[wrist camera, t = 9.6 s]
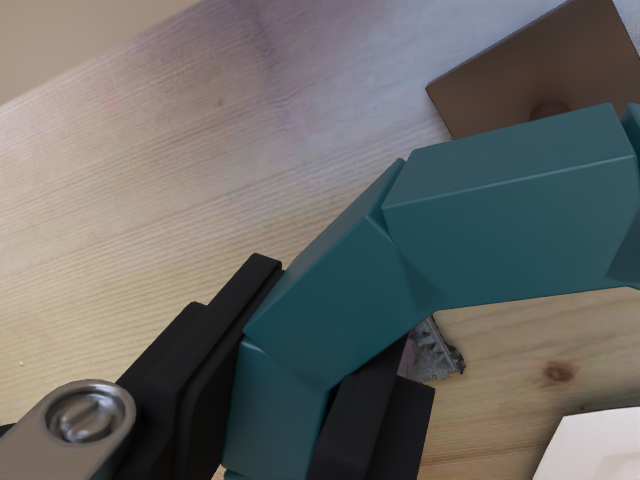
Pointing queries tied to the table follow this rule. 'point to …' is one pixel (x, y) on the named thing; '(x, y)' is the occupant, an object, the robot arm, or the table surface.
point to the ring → (433, 265)
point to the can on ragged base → (428, 354)
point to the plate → (594, 447)
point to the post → (543, 71)
